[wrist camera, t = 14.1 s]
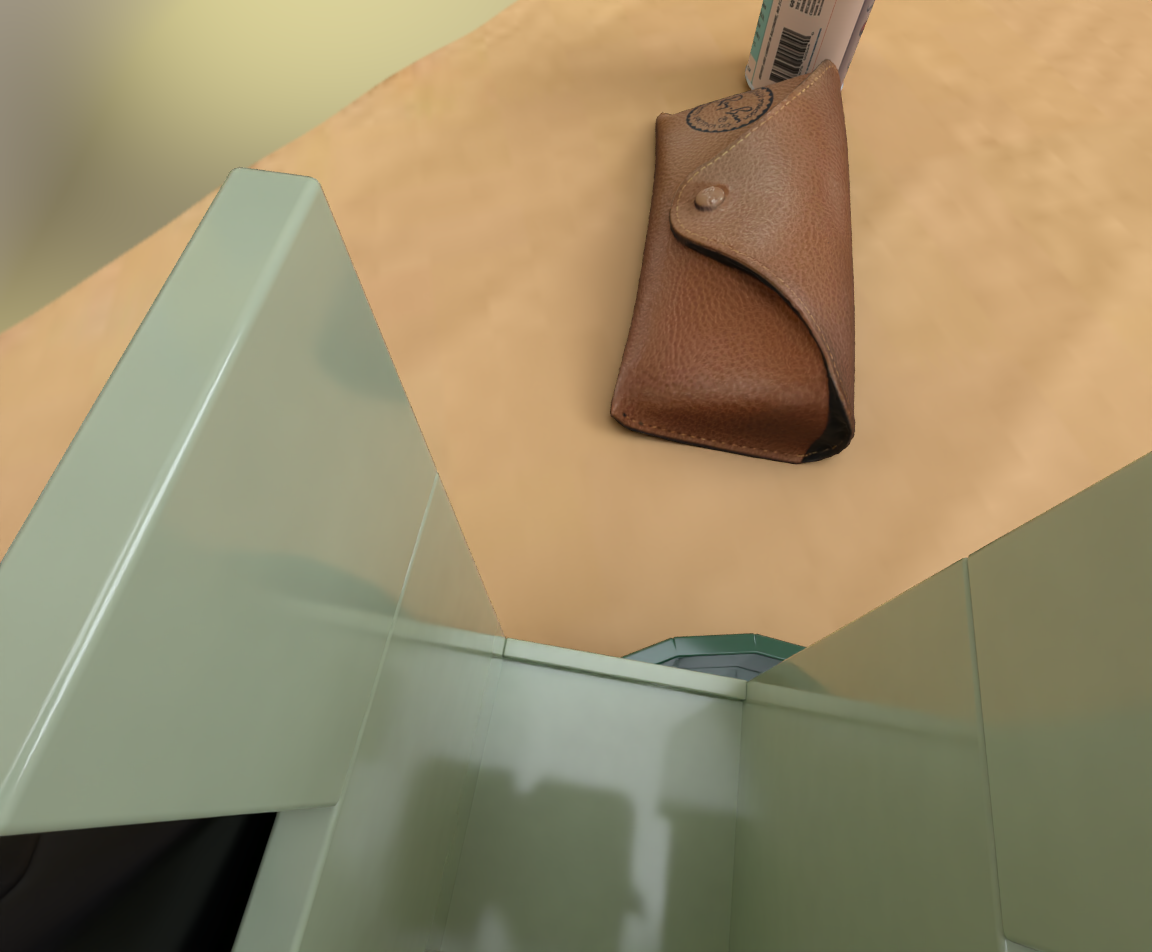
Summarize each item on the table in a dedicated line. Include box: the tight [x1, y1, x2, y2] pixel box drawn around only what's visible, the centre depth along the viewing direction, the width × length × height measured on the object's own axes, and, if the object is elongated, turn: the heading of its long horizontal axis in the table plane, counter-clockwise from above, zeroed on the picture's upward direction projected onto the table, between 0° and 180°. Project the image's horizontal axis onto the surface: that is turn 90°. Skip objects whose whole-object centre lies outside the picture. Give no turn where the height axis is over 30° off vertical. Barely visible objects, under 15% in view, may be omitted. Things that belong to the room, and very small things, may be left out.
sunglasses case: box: [610, 59, 855, 464], centre depth 26 cm, size 18×7×7 cm
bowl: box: [620, 633, 807, 681], centre depth 15 cm, size 13×13×4 cm
